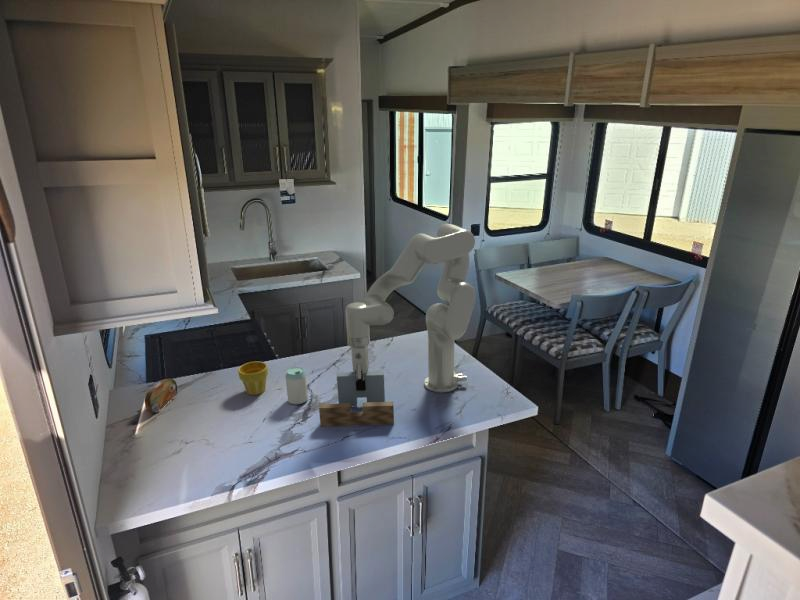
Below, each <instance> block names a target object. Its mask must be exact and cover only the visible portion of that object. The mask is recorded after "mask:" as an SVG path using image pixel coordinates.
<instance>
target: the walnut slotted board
mask: <svg viewBox="0 0 800 600" xmlns="http://www.w3.org/2000/svg"><path fill="white" fill-rule="evenodd" d="M318 410H319V411H318V412H319V420H320V422H319V423H320V427H321V428H323V427H328V428H329V427H349V426H350V427H351V426H352V427H353V426H380V425H381V426H383V425H384V426H385V425H395V415H394V401H385V402H367V401H366V402H362V411H353V412H352V407H351V403H339V402H338V403H319V407H318Z"/></svg>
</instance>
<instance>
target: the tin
mask: <svg viewBox="0 0 800 600" xmlns="http://www.w3.org/2000/svg"><path fill="white" fill-rule="evenodd" d="M177 395H178V384H177V381H176V380H175V379H173V378H163V379H162V380H160V381H159V382H157V384H155V385H154V386H153V387H151V389H149V390H148V391H147V392H146V394H145V396H144V405H145V408H146V410H147V411H148V412H150V413H160V412H159V410H161V409H162V408H163V407H164V406H165V405H166V404H167V403H168V401H170V400H171V399H172V398H173V397H175V396H177ZM175 398H176V397H175ZM161 411H162V410H161Z"/></svg>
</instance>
